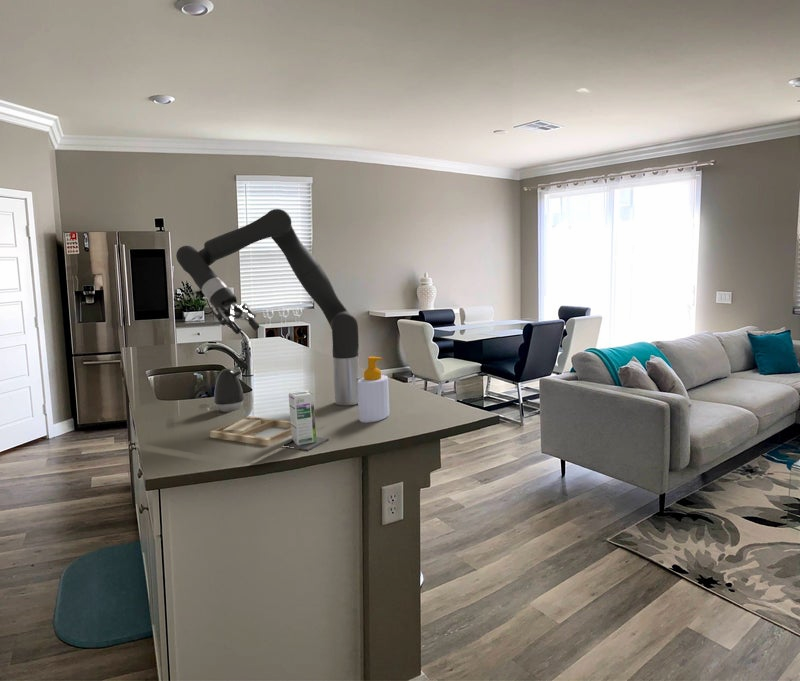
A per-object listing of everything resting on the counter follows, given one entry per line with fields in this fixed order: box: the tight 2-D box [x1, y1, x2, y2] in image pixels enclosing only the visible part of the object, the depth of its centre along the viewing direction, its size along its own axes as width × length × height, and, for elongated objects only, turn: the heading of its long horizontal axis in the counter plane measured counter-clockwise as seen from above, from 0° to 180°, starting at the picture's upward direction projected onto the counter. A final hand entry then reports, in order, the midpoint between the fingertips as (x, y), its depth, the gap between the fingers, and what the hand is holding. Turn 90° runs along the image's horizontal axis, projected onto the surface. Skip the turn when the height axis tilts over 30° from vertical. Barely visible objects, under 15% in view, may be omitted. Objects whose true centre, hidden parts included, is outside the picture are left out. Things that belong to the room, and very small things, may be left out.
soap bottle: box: [357, 356, 390, 424], centre depth 189 cm, size 13×8×20 cm, turn 148°
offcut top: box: [223, 418, 261, 434], centre depth 177 cm, size 6×11×2 cm, turn 165°
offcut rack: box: [209, 416, 292, 447], centre depth 174 cm, size 22×17×3 cm
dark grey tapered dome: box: [213, 368, 245, 413], centre depth 205 cm, size 10×10×15 cm
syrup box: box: [288, 389, 317, 445], centre depth 166 cm, size 6×6×14 cm
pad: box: [283, 436, 330, 452], centre depth 167 cm, size 10×10×1 cm
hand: (248, 330), depth 185 cm, fingers open, 8 cm apart
